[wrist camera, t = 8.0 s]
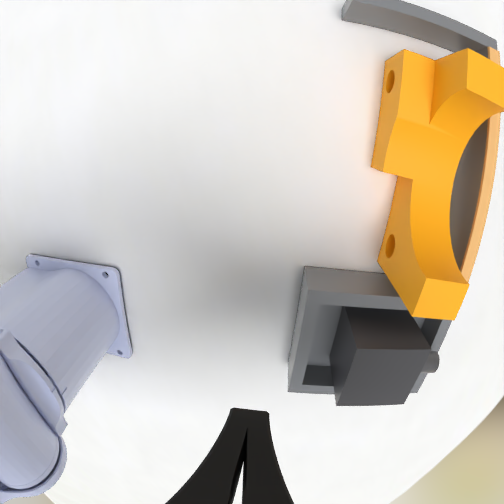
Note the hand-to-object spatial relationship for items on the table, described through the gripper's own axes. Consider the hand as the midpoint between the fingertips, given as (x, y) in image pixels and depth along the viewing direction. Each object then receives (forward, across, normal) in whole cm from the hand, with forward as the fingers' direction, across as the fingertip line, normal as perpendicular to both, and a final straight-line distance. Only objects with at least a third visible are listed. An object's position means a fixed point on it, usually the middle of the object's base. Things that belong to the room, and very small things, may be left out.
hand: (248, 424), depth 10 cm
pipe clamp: (+10, -8, -9) cm, 16 cm away
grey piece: (+10, -6, -7) cm, 14 cm away
